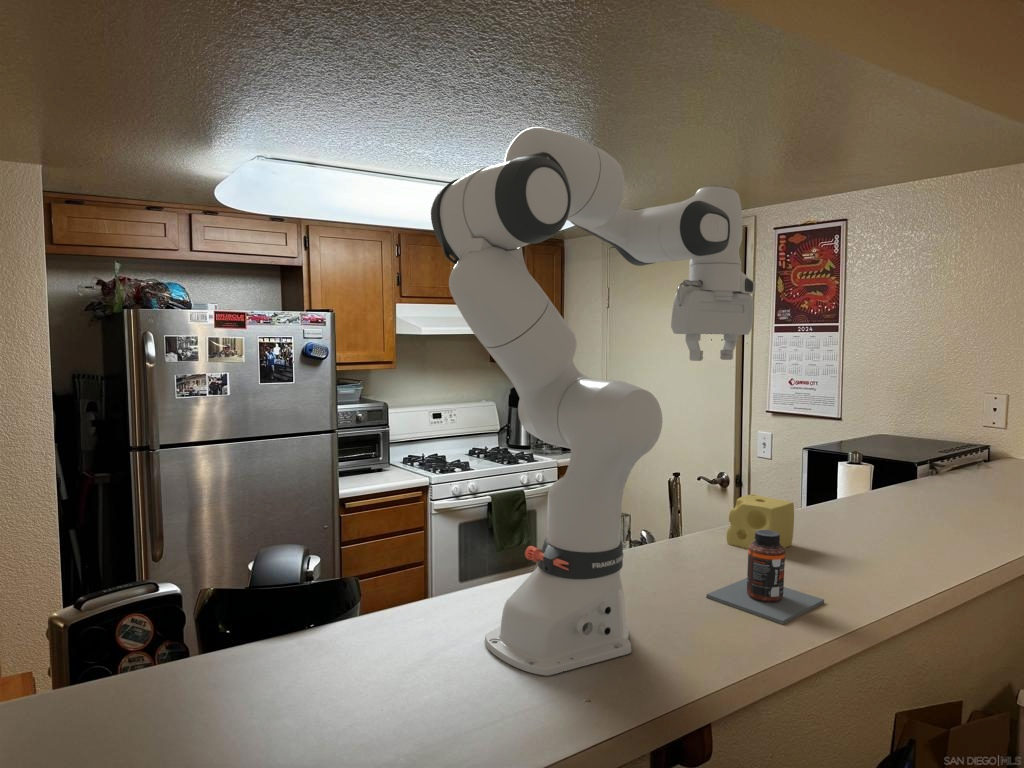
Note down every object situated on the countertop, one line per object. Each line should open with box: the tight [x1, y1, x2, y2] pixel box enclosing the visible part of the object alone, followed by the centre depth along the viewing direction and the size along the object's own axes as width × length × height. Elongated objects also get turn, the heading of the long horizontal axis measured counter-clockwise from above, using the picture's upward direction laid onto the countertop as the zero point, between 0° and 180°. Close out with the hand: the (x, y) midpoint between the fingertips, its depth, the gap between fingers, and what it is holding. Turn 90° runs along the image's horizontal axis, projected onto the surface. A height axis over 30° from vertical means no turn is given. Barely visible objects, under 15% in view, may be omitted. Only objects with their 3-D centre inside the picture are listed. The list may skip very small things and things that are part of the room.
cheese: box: [726, 493, 795, 550], centre depth 149 cm, size 10×11×10 cm
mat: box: [706, 577, 825, 625], centre depth 118 cm, size 14×14×1 cm
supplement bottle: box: [746, 530, 786, 602], centre depth 118 cm, size 6×6×11 cm
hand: (711, 360), depth 122 cm, fingers open, 8 cm apart
